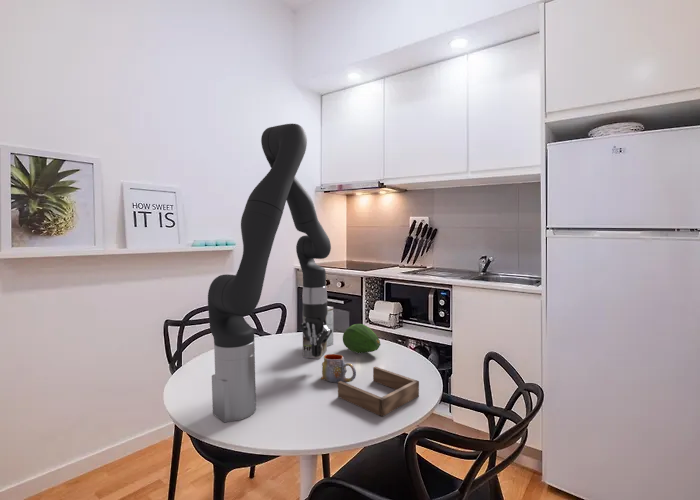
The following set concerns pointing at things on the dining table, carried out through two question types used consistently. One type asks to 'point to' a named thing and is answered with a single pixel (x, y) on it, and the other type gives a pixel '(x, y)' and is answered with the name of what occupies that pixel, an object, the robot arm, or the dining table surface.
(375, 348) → the fruit
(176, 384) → the dining table surface
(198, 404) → the dining table surface
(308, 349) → the coffee box
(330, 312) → the syrup box
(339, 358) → the mug
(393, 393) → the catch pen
